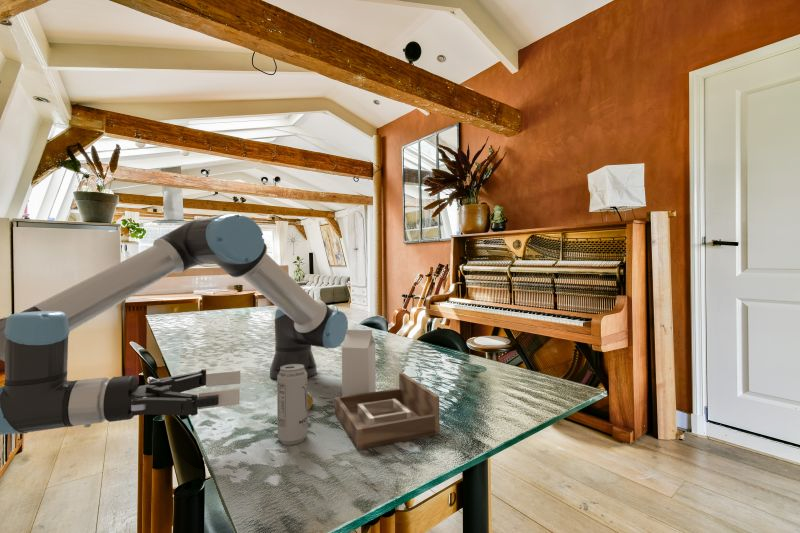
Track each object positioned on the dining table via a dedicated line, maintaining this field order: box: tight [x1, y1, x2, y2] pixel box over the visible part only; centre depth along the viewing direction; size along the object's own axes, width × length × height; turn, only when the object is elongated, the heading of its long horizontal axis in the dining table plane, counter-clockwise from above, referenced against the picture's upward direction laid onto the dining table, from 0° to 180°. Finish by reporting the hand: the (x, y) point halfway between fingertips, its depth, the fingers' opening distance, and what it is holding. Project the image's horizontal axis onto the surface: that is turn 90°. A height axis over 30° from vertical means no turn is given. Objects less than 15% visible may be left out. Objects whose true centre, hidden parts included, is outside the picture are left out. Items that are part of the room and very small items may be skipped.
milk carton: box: [341, 329, 377, 396], centre depth 100 cm, size 7×7×19 cm
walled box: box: [334, 372, 440, 451], centre depth 86 cm, size 20×18×8 cm
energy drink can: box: [276, 364, 309, 446], centre depth 78 cm, size 6×6×15 cm
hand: (240, 385), depth 74 cm, fingers open, 13 cm apart
